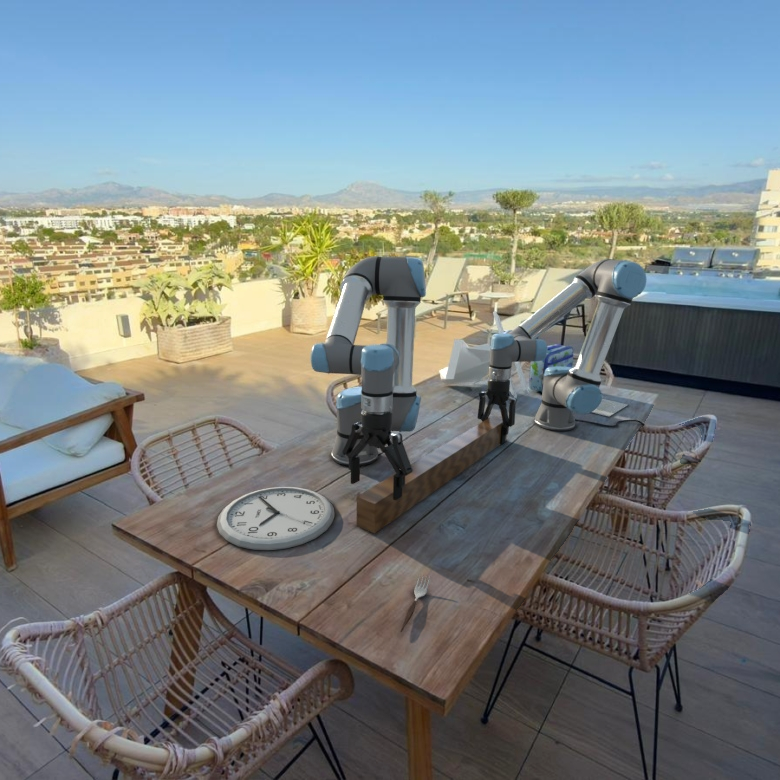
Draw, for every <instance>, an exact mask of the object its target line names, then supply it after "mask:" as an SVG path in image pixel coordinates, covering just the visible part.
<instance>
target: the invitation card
mask: <svg viewBox="0 0 780 780" xmlns="http://www.w3.org/2000/svg"><path fill="white" fill-rule="evenodd" d="M628 406H629V404H627V403H623V402H618V401H614V400H609V399H605V398H602V401H601V403H600V405H599V406H598V407H597V408H596V409H595V410H594V411H592V412H591V413H593V414H596V415H600V416H604V417H608V418H609V417H611V416H613V415H614V414H616V413H617V412H619V411H621V410H623V409H624V408H626V407H628Z"/></svg>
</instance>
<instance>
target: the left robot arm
mask: <svg viewBox="0 0 780 780" xmlns="http://www.w3.org/2000/svg"><path fill="white" fill-rule="evenodd" d="M425 273H426V272H425V267H424V262H423V260H422V259H421V258H418V257H411V256H367V257H366V258H363V259H361V260H359V261H358V262H356V263H355V264H353V266H351V267H349V269H348V270H347V271H346V273H345V274H344V276H343V277H342V280H341V283H340V286H339V287H340V296H339V298H338V302H337V305H336V308H335V310H334V315H333V317H332V319H331V323H330V325H329V328H328V331H327V334H326V336H325V337H326V338H325V340H324V342H317V343H314V344H313V346H312V348H311V352H310V365H311V369H312V370H313V371H314V372H317V373H321V374H328V375H329V374H336V375H337V374H338V375H339V374H340V375H355V376H356V375H357V376H360V377H361V379H360V381H361V384H360V385H361V386H354V387H349V388H346V389H343V390H341V391H340V392H339V393H338V394H337V396H336V405H335V409H336V437H335V441H334V444H333V447H332V450H331V459H332V461H333V462H334V463H336V464H339V465H342V466H346V467H348V470H349V471H350V484H351V485H354V484H356V483H358V482H360V480H361V474H360V473H361V467H363V466H367V465H371V464H373V463H375V462H376V461H377V460H378V459H379V449H380V451H381V452H382V453H384V455H385V457H386V458H387V461H388V462H389V464H390V465H391V467H392V469H393V470H394V472H395V473H394V474H395V475H394V474H393V475H394V483H393V500H397V499H399V498H400V497H402V487H403V486H404V485H405V476H406V475H408V474H410V473H411V472H412V471H413V470H412V467H411V464H412V463H411V462H410V458H409V456H408V453H407V451H406V448H405V445H404V442H403V434H402V432H403V433H407V432H409V433H410V432H413V431H414V430H415V429H416V426H417V423H418V418H419V413H420V408H421V400H422V397H421V396H420V395H418V394H417V392H418V391H417V389H416V387H415V386H414V385H413V375H414V374H413V371H414V369H413V368H414V347H415V324H416V308H417V307H418V306H419V305H420V304H421V300H422V298H424V297H426V295H427V290H426V289H427V288H426V285H427V284H426V275H425ZM372 296H382V302H383V303H384V304H385V306H386V307H387V313H386V315H387V316H386V343H385V342H384V343H380V344H369V345H361V344H359V345H358V344H355V341H356V338H357V335H358V331H359V327H360V324H361V321H362V317H363V313H364V309H365V306H366V303H367V301H368V300H370V298H371V297H372ZM392 432H399V433H392ZM386 445H387V446H386Z"/></svg>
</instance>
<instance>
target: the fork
mask: <svg viewBox="0 0 780 780" xmlns="http://www.w3.org/2000/svg"><path fill="white" fill-rule="evenodd" d="M420 577H421V573H420V574H419V576H418V579H417V583H416V585H415V586H414V591H413V594H414V595H415V599H414V600H413V602H412V603H411V605H409V608H408V609H407V610H406V613H405V617H404V620H403V623H402V625H401V629H400V633H402V632H403V631H404V629H405V627H406V625H408V622H409V621H410V619H411V618H412V616H413V614H414V611H415V608H416V605H417V601H418V599H419V598H422V597H425V596H426V595H427V593H428V589H429V584H430V580H431V576H429V578H428V580H427V577H428V576H427V575H425V579H424V574H422V578H420ZM420 579H421V581H420ZM423 580H424V582H423ZM426 583H427V584H426Z"/></svg>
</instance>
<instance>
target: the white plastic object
mask: <svg viewBox="0 0 780 780" xmlns="http://www.w3.org/2000/svg"><path fill="white" fill-rule="evenodd" d="M492 315H493V319H494V321H495V324H496V325H495V326H496V328H497V332H498V333H504V332H505V331H504V328H503V325H502V321H501V318H500V315H499V314H498V312H497V311H496V310H495V311H492ZM490 346H491V344H489V343H488V342H487V343H483V344H479V345H473V346H469V345H468V343H466V342H465V340H464V339H463V338H460V339H458V338H454V340H453V344H452V349H451V353H450V357H449V362H448V366H446V367H444V368H442V369H440V370H439V371H438V372H439V376H440V381H442V383H443V384H444V385H445V386H449V385H458V384H467V383H468V384H469V383H473V384H477V383H480V382H482V381H484V378H485V377H486V376H488V375H489V363H490ZM513 363H514V366H515V369H516V372H517V376H518V380H519V382H520V385H521V389H522V391H523V393H524V395H525V396H526V397H528V396H531V395H530V389H529V388H528V387H529V386H528V384H527V381H526V378H525V375H524V371H523V369H522V368H523V367H522V366H521V362H513ZM509 380H510V389H509V393H510V394H511V395H512V397H513V398H516V399H517V392H516V391H517V390H516V388H515V385H514V381H513V378H512V377H511V378H510V379H509Z"/></svg>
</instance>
